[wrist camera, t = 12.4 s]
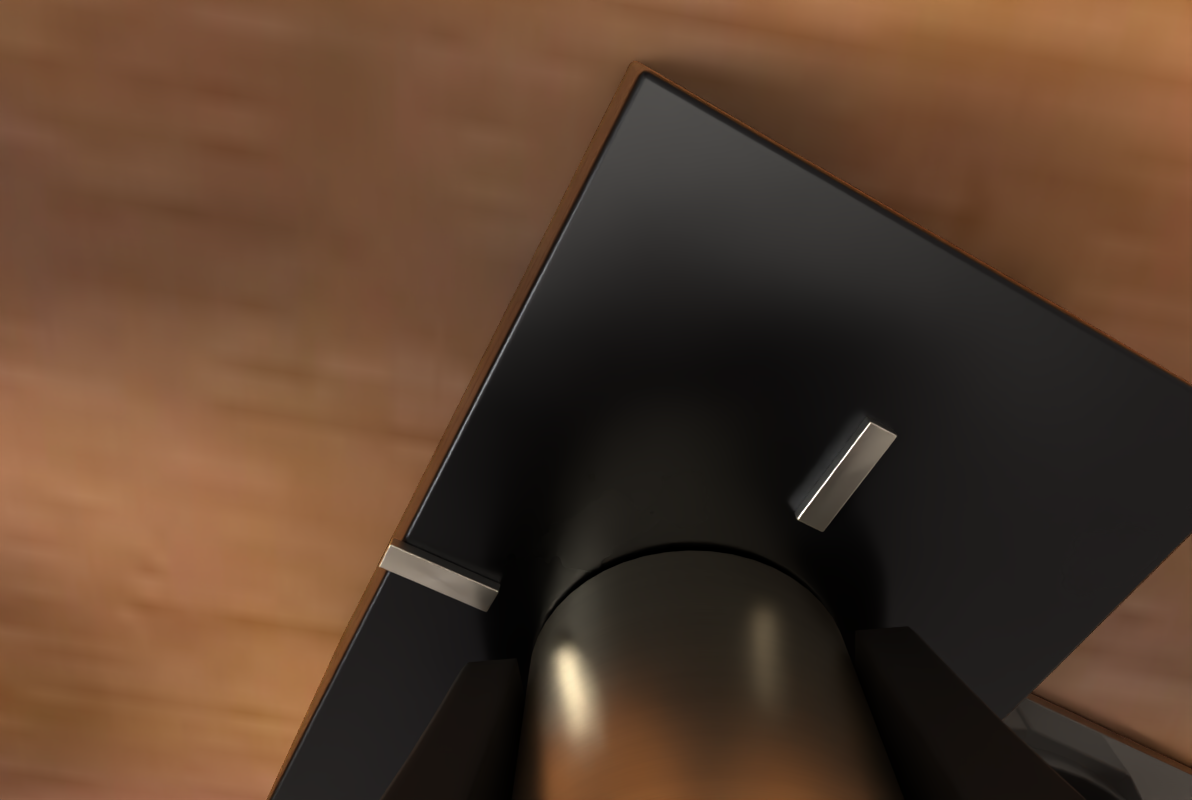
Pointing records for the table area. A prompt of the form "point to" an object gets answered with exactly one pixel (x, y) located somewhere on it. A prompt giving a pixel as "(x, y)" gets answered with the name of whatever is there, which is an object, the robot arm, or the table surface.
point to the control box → (761, 436)
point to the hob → (1097, 756)
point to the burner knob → (696, 691)
